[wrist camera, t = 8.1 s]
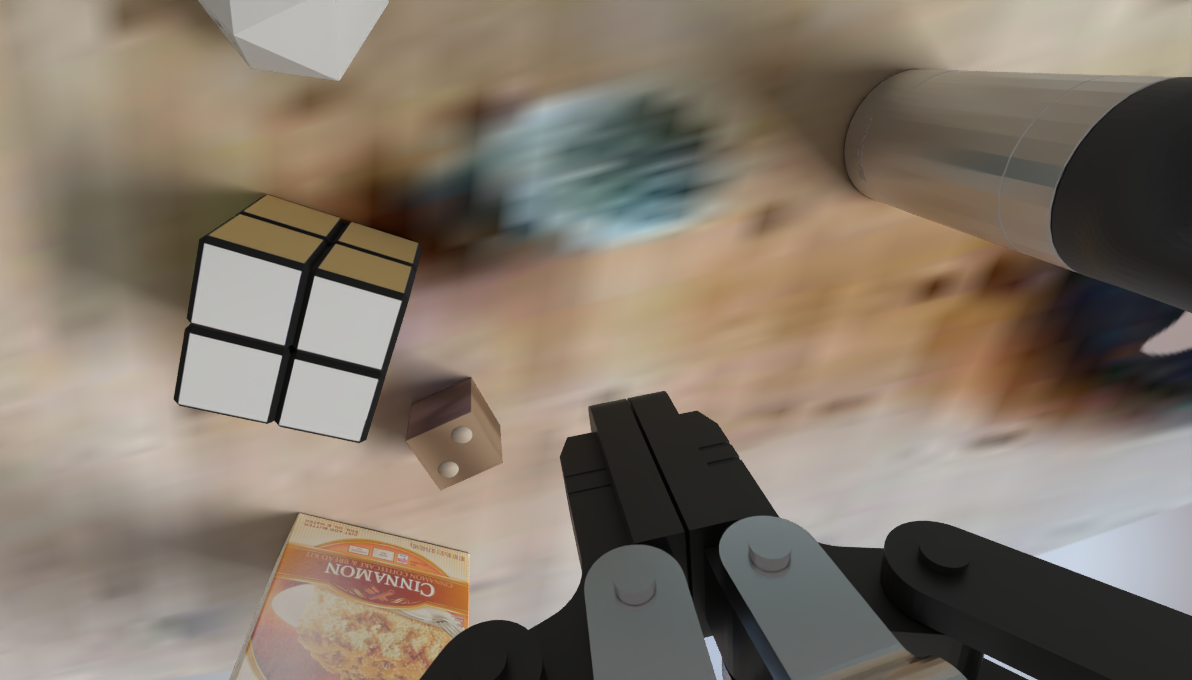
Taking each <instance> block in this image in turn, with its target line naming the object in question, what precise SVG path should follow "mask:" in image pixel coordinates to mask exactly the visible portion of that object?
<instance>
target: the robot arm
mask: <svg viewBox="0 0 1192 680" xmlns="http://www.w3.org/2000/svg"><path fill="white" fill-rule="evenodd" d="M844 148H845V165H846V169H847V173H848V175H849V177H850V179H851V181H852V183H853V185H854V186H855V187H856V188H857V189H858V190H859V192H861V193H862V194H864V195H865V196H867V197H868V198H871V199H874V200H877V201H879V202H882V203H885V204H888V205H890V206H893V207H896V208H899V209H901V210H904V211H906V212H909V213H912V214H914V215H917V216H920V217H923V218H926V219H928V220H931V221H934V222H937V223H939V224H942V225H945V226H948V227H951V228H953V229H956V230H959V231H962V232H964V233H967V234H970V235H973V236H976V237H978V238H981V239H984V240H987V241H990V242H992V243H995V244H998V245H1001V246H1003V247H1006V248H1009V249H1012V250H1015V251H1017V252H1020V253H1023V254H1026V255H1029V256H1032V257H1035V258H1038V259H1040V260H1043V261H1046V262H1049V263H1052V264H1054V265H1057V266H1060V267H1063V268H1066V269H1068V270H1071V271H1074V272H1077V273H1080V274H1082V275H1085V276H1088V277H1091V278H1094V279H1097V280H1100V281H1103V282H1106V283H1109V284H1112V285H1115V286H1118V287H1121V288H1124V289H1127V290H1130V291H1133V292H1135V293H1138V294H1141V295H1144V296H1147V297H1150V298H1153V299H1155V300H1158V301H1161V302H1163V303H1166V304H1169V305H1172V306H1174V307H1177V308H1180V309H1183V310H1185V311H1188V312H1191V313H1192V77H1159V76H1126V75H1120V76H1114V75H1082V74H1051V73H1019V72H987V71H962V70H932V69H915V70H907V71H903V72H901V73H898V74H895V75H893V76H891V77H889V78H888V79H886V80H885V81H883V82H881V83H880V84H879V85H878V86H877V87H876V88H874V89H873V90H872V91H871V92H870V93H869V94H868V95H867V97H866V98H865V99H864V100H863V102H862V103H861V104H860V106H859V107H858V109H857V111H856V113H855V115H854V116H853V118H852V120H851V123H850V126H849V129H848V132H847V136H846V142H845V147H844ZM589 418H590V425H591V432H592V433H587V434H582V435H578V436H573V437H568V438H567V440H566V442H565V445H564V447H563V450H562V453H561V455H560V461H561V466H562V472H563V477H564V483H565V488H566V494H567V500H568V505H569V511H570V516H571V521H572V526H573V531H574V536H575V540H576V546H577V550H578V555H579V560H580V565H581V570H582V578H581V581H580V584H579V587H578V589H577V591H576V593H575V594H574V596H573V597H572V599H571V600H570V601H569V602H568V603H567V604H566V606H564V607H563V608H562V609H561V610H560V611H559V612H557V613H556V614H554V615H553V616H551V617H550V618H548V619H547V620H545V621H543V622H541V623H540V624H538V625H536V626H534V627H533V628H531V629H529V630H527V629H526V628H525V627H523V626H521V625H519V624H517V623H514V622H511V621H505V620H491V621H486V622H482V623H479V624H476V625H473V626H471V627H469V628H467V629H465V630H464V631H462V632H461V633H459V634H458V635H456V636H455V637H454V638H453V639H452V640H451V641H450V642H449V643H448V644H447V645H446V646H445V647H444V648H443V649H442V651H441V652H440V653H439V654H438V656H437V657H436V658H435V660H434V661H433V662H432V664H431V665H430V666H429V668H428V669H427V670H426V671H425V673H424V674H423V675H422V677H421V678H420V679H419V680H716V676H715V673H714V670H713V666H712V663H711V660H710V656H709V654H708V650H707V647H706V644H705V640H704V638H705V637H709V636H714V639H715V641H716V644H717V646H718V648H719V651H720V653H721V656H722V676H723V680H1028V679H1026V678H1024V677H1022V676H1019V675H1018V674H1016V673H1013V672H1012V671H1009V670H1007V669H1005V668H1003V667H1001V666H999V665H997V664H995V663H993V662H991V661H989V660H987V659H985V658H983V657H984V654H986V655H988V656H990V657H992V658H995V659H996V660H998V661H1001V662H1002V663H1005V664H1007V665H1009V666H1011V667H1013V668H1015V669H1017V670H1019V671H1021V672H1023V673H1025V674H1027V675H1029V676H1031V677H1034V678H1036V679H1038V680H1192V616H1190V615H1188V614H1185V613H1182V612H1180V611H1177V610H1174V609H1172V608H1169V607H1167V606H1164V605H1161V604H1158V603H1156V602H1153V601H1151V600H1148V599H1145V598H1142V597H1140V596H1137V595H1135V594H1132V593H1129V592H1127V591H1124V590H1121V589H1119V588H1116V587H1113V586H1111V585H1108V584H1105V583H1103V582H1100V581H1097V580H1095V579H1092V578H1090V577H1087V576H1084V575H1081V574H1079V573H1076V572H1073V571H1071V570H1068V569H1065V568H1063V567H1060V566H1057V565H1055V564H1052V563H1050V562H1047V561H1044V560H1042V559H1039V558H1036V557H1034V556H1031V555H1028V554H1026V553H1023V552H1021V551H1018V550H1015V549H1013V548H1010V547H1007V546H1005V545H1002V544H999V543H997V542H994V541H991V540H989V539H986V538H983V537H981V536H978V535H975V534H973V533H970V532H967V531H965V530H962V529H959V528H957V527H954V526H951V525H948V524H944V523H939V522H932V521H914V522H908V523H905V524H902V525H900V526H898V527H896V528H894V529H893V530H892V531H891V532H890V533H889V535H888V536H887V538H886V541H885V544H884V549H883V548H859V547H839V546H831V545H826V544H821V543H818V542H817V541H816V540H815V539H814V538H813V537H812V536H811V535H810V533H809V532H807V531H806V530H805V529H803V528H802V527H801V526H799V525H797V524H795V523H793V522H791V521H789V520H786V519H782V518H780V517H779V516H778V515H777V513H776V512H775V510H774V509H773V507H772V506H771V504H770V503H769V501H768V500H767V498H766V496H765V495H764V493H763V492H762V490H761V489H760V487H759V486H758V484H757V483H756V481H755V480H754V478H753V477H752V475H751V474H750V472H749V471H748V469H747V468H746V466H745V465H744V463H743V462H742V460H740V459H739V456H738V454H737V452H736V451H735V449H734V448H733V446H732V445H730V444H729V440H728V439H727V437H726V436H725V434H724V433H723V431H722V430H721V428H720V427H719V425H718V424H717V423H716V422H714V421H713V420H711V419H709V418H708V417H706V416H705V415H703V414H702V413H700V412H698V411H693V412H688V413H683V414H679V413H678V412H677V410H676V408H675V406H674V405H673V403H672V401H671V399H670V398H669V396H668V394H667V393H666V392H665V391H661V392H656V393H651V394H646V395H641V396H636V397H631V398H628V399H627V400H626V399H622V400H617V401H612V402H607V403H602V404H597V405H592V406H589Z"/></svg>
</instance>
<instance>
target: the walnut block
mask: <svg viewBox="0 0 1192 680" xmlns="http://www.w3.org/2000/svg"><path fill="white" fill-rule="evenodd" d="M405 441H406V443H407V444H408V446H409V447H410V448H411V450H412V451H413V453H414V454H415V455H416V457H417V458H418V460H419V461H420V462H421V464H422V465H423V467H424V468H425V469H426V471H427V472H428V474H429V475H430V476H431V478H432V479H433V481H434V482H435V483H436V485H437V486H438V488H439V489H440V490H443V489H445V488H447V487H449V486H452V485H454V484H456V483H458V482H461V481H463V480H465V479H467V478H470V477H472V476H474V475H476V474H479V473H481V472H483V471H485V470H488V469H490V468H492V467H494V466H497V465H499V464H501V463H503V461H502V447H501V433H500V425H499V423H498V421H497V420H496V418H495V416H494V414H493V413H492V411H491V409H490V408H489V406H488V404H487V403H486V401H485V399H484V398H483V396H482V394H481V393H480V391H479V389H478V388H477V386H476V384H475V383H474V381H473V379H472V378H468V379H466V380H464V381H462V382H460V383H457V384H455V385H453V386H451V387H448V388H446V389H444V390H442V391H439V392H437V393H435V394H433V395H430V396H428V397H426V398H424V399H421V400H419V401H417V402H415V403H412V406H411V412H410V418H409V423H408V429H407V435H406V440H405Z"/></svg>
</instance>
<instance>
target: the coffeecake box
mask: <svg viewBox="0 0 1192 680" xmlns="http://www.w3.org/2000/svg"><path fill="white" fill-rule="evenodd" d="M469 555H470V554H469V553H465V552H461V551H457V550H453V549H448V548H444V547H440V546H436V545H432V544H427V543H423V542H419V541H414V540H410V539H406V538H402V537H398V536H394V535H389V534H385V533H381V532H377V531H373V530H368V529H364V528H360V527H356V526H352V525H347V524H343V523H339V522H335V521H331V520H327V519H322V518H318V517H314V516H310V515H306V514H302V513H299V514H298V516H297V518H296V520H295V522H294V525H293V527H292V529H291V531H290V533H289V535H288V537H287V539H286V542H285V544H284V546H283V548H282V550H281V552H280V555H279V557H278V559H277V561H276V563H275V566H274V568H273V571H272V573H271V575H270V578H269V580H268V583H267V585H266V588H265V590H264V593H263V595H262V598H261V600H260V603H259V605H258V608H257V610H256V613H255V616H254V618H253V621H252V623H251V626H250V628H249V631H248V633H247V636H246V639H245V641H244V644H243V646H242V649H241V651H240V654H239V656H238V659H237V661H236V664H235V666H234V669H233V671H232V674H231V677H230V679H229V680H419V679H420V678H421V677H422V675H423V674H424V673H425V671H426V670H427V669H428V668H429V666H430V665H431V664H432V662H433V661H434V660H435V658H436V657H437V656H438V654H439V653H440V652H441V651H442V649H443V648H444V647H445V646H446V645H447V644H448V643H449V642H450V641H451V640H452V639H453V638H454V637H455V636H456V635H458V634H459V633H461V632H462V631H464V630H465V629H467V628H469Z"/></svg>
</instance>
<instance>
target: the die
mask: <svg viewBox="0 0 1192 680" xmlns="http://www.w3.org/2000/svg"><path fill="white" fill-rule="evenodd" d="M198 1H199V3H200V4H201V5H202V6H203V8H204V9H205V10H206V12H207V13H208V14H209V15H210V17H211V18H212V19H213V21H214V22H215V23H216V24H217V26H218V27H219V28H220V30H221V31H222V32H223V33H224V35H225V36H226V37H227V39H228V40H229V41H230V42H231V44H232V45H233V46H234V48H235V49H236V50H237V51H238V53H239V54H240V55H241V57H242V58H243V59H244V60H245V62H246V63H247V64H248V66H249V67H250V68H251V69H258V70H265V71H272V72H279V73H286V74H293V75H300V76H306V77H313V78H320V79H327V80H334V81H340V79H341V78H342V76H343V74H344V73H345V71H346V70H347V68H348V66H349V65H350V63H351V62H352V60H353V59H354V57H355V55H356V54H357V52H358V51H359V49H360V48H361V46H362V44H363V43H364V41H365V40H366V38H367V36H368V35H369V33H370V32H371V30H372V29H373V27H374V25H375V24H376V22H377V21H378V19H379V17H380V16H381V14H382V13H383V11H384V10H385V8H386V6H387V5H388V3H389V1H388V0H198Z"/></svg>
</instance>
